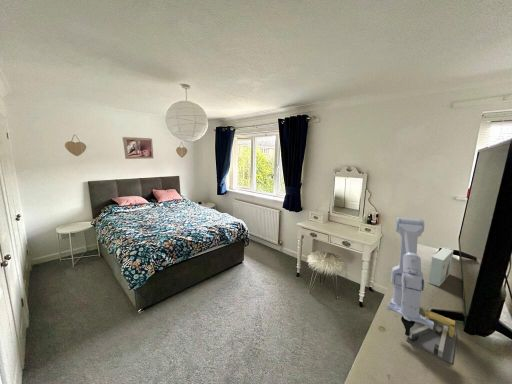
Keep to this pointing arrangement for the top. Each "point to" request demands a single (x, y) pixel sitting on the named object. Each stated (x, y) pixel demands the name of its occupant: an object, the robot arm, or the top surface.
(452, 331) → the yellow arch block
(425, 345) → the mat
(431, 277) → the skincare box
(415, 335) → the tong arm
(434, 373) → the top surface
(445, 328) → the tongs fixed
